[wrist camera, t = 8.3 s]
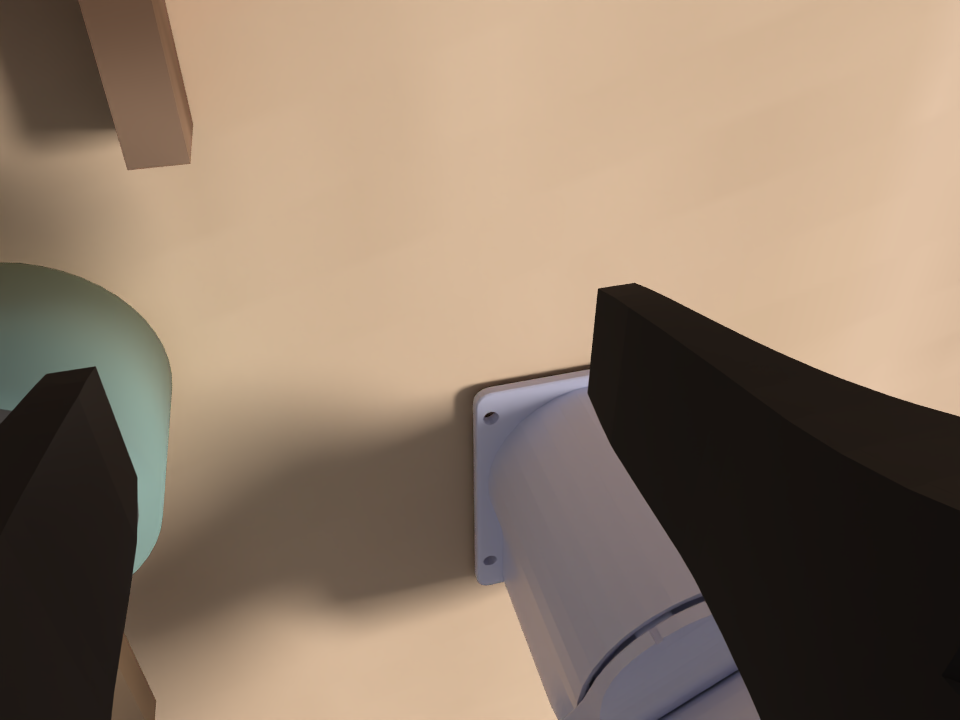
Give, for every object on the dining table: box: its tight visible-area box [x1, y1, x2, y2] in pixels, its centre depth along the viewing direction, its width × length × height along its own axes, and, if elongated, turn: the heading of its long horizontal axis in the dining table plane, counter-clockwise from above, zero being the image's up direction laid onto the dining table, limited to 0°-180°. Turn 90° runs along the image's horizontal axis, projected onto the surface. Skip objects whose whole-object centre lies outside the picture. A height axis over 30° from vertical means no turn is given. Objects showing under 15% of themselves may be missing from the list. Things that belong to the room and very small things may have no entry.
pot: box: [0, 263, 172, 720], centre depth 20 cm, size 14×7×5 cm, turn 0°
